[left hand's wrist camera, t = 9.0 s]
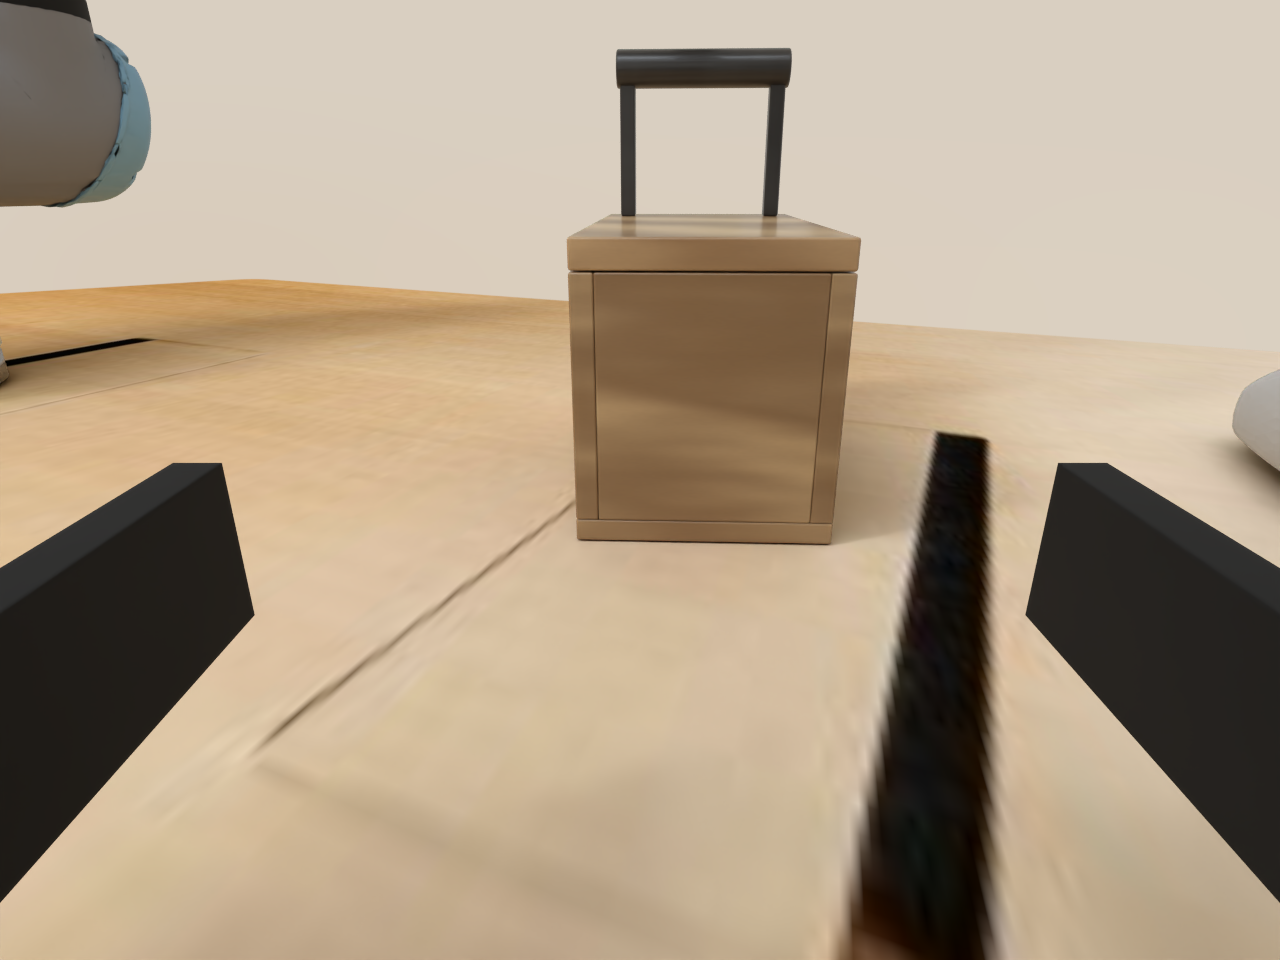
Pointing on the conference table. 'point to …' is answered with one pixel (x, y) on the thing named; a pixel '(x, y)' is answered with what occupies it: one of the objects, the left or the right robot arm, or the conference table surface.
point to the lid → (707, 235)
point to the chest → (708, 403)
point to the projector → (1260, 418)
